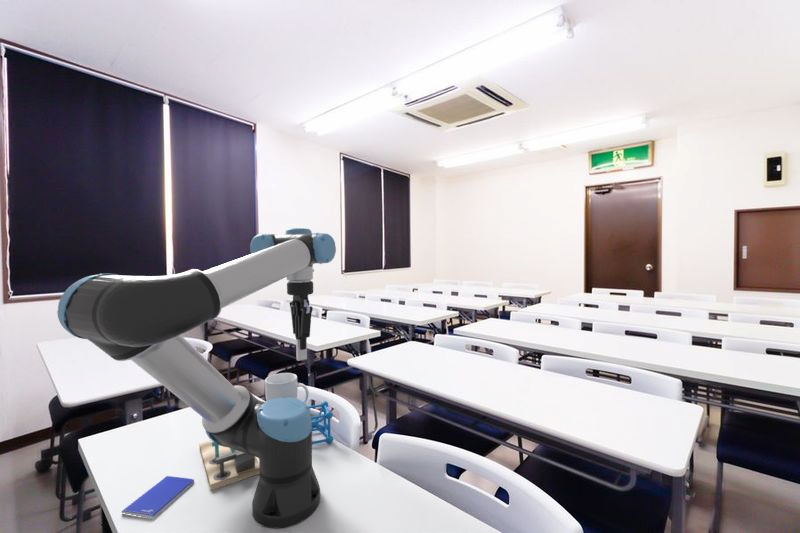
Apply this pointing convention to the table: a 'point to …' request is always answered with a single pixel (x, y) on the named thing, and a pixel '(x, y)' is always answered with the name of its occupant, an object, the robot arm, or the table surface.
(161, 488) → the hard drive
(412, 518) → the table surface
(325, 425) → the molecular structure
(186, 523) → the table surface
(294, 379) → the mug
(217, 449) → the sliding leg
